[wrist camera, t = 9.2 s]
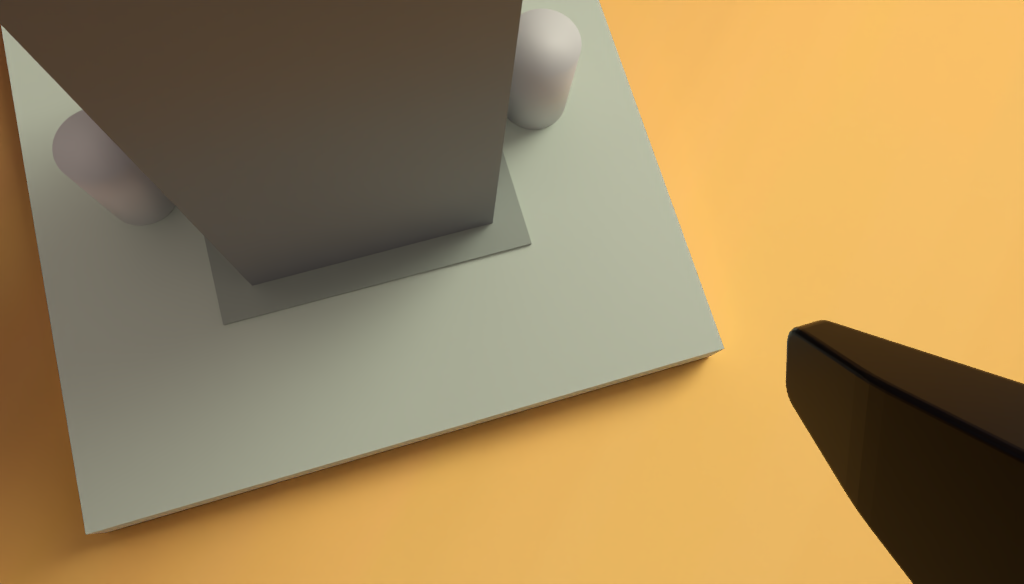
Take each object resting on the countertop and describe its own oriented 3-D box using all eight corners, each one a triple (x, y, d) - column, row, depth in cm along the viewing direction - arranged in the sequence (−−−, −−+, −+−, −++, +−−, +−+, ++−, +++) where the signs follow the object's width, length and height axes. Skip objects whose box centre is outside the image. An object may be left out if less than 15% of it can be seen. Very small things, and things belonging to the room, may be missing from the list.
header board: (710, 356, 19) (765, 325, 16) (106, 532, 17) (21, 541, 14) (538, -127, 22) (553, -240, 19) (10, -22, 20) (-79, -127, 17)
